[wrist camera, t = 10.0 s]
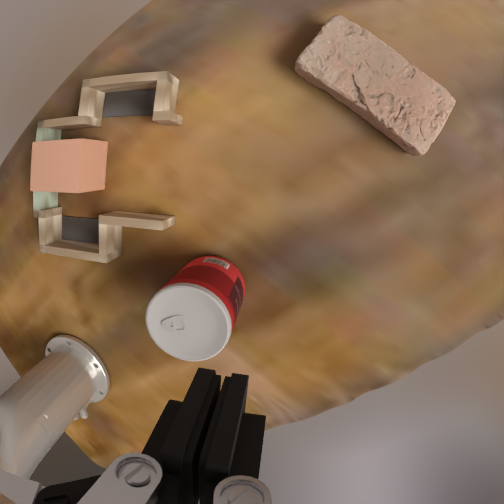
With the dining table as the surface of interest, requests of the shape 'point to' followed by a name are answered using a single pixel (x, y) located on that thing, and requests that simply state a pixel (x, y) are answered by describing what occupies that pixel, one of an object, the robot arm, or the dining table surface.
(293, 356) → the dining table surface
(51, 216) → the channel
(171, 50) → the dining table surface
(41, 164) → the block
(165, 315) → the canned food
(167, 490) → the robot arm
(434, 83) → the brick
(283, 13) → the dining table surface
